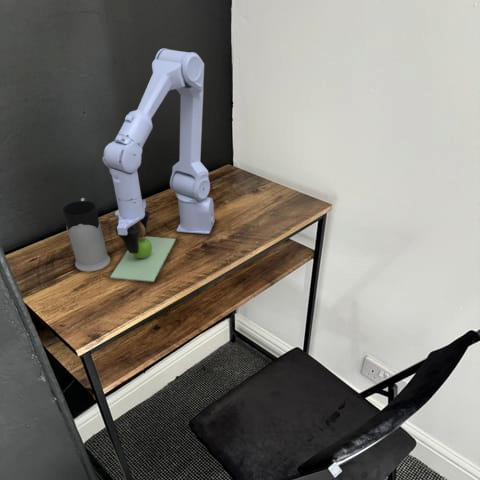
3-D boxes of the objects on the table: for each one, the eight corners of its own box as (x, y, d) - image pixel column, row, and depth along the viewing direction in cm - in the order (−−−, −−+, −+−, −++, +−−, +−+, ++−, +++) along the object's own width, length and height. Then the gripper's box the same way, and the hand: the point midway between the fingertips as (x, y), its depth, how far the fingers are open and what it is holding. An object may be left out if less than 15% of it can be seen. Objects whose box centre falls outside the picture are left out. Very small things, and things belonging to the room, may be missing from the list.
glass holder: (74, 273, 114) (57, 218, 104) (78, 244, 125) (63, 191, 115) (110, 269, 115) (97, 214, 106) (110, 240, 126) (99, 188, 116)
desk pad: (175, 239, 126) (175, 238, 126) (153, 282, 111) (153, 280, 111) (137, 237, 127) (137, 235, 127) (110, 278, 112) (109, 276, 112)
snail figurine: (139, 247, 122) (132, 206, 114) (157, 255, 119) (151, 213, 111) (124, 256, 119) (116, 214, 111) (142, 264, 116) (135, 222, 108)
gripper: (123, 181, 113) (132, 230, 122) (100, 208, 102) (111, 260, 111) (150, 183, 112) (157, 232, 121) (130, 211, 101) (139, 263, 110)
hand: (137, 246), depth 116 cm, fingers open, 5 cm apart
